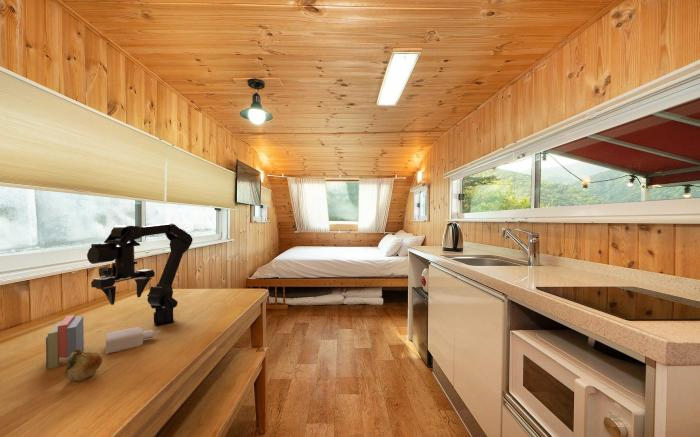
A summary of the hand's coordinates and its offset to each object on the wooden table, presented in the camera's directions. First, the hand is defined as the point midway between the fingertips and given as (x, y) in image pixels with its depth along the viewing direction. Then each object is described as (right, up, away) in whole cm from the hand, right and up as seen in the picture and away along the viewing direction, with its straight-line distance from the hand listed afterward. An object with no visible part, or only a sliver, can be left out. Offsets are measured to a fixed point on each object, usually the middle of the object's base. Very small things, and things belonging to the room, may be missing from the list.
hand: (126, 300), depth 104 cm
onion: (+10, -14, -27) cm, 32 cm away
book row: (-6, -14, -15) cm, 22 cm away
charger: (+7, -14, -5) cm, 17 cm away
